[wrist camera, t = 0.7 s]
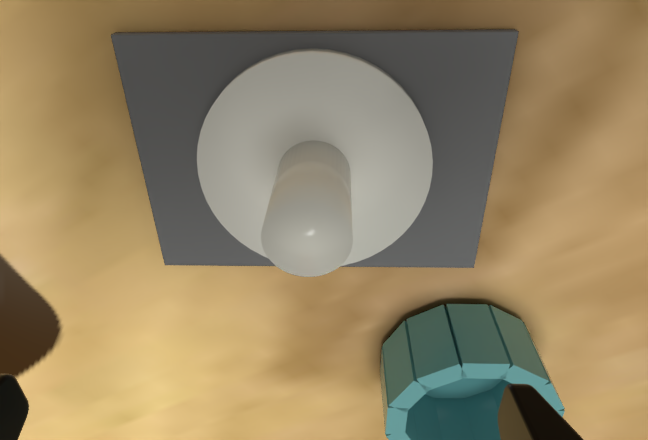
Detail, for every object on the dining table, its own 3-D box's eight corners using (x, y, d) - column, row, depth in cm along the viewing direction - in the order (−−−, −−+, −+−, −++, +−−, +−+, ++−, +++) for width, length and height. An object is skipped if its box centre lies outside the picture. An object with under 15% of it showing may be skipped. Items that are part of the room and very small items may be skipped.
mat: (514, 29, 17) (518, 31, 16) (471, 262, 22) (473, 267, 21) (115, 32, 17) (110, 34, 17) (167, 259, 22) (164, 265, 22)
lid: (442, 47, 17) (479, 93, 12) (418, 258, 21) (439, 347, 17) (184, 48, 17) (126, 94, 12) (217, 256, 22) (184, 344, 17)
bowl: (546, 299, 23) (582, 365, 19) (514, 403, 27) (539, 473, 23) (384, 297, 23) (391, 362, 20) (377, 401, 27) (382, 470, 24)
